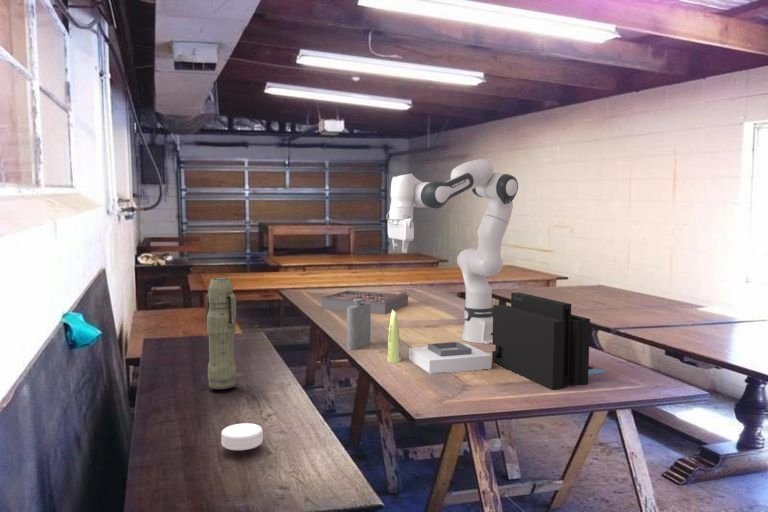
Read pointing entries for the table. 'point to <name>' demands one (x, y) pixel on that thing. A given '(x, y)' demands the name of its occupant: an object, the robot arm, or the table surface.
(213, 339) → the thermos
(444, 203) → the robot arm
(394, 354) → the tube
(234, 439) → the coaster
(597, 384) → the table surface
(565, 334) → the game console
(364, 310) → the hip flask
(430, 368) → the white box with hole
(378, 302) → the organizer tray
